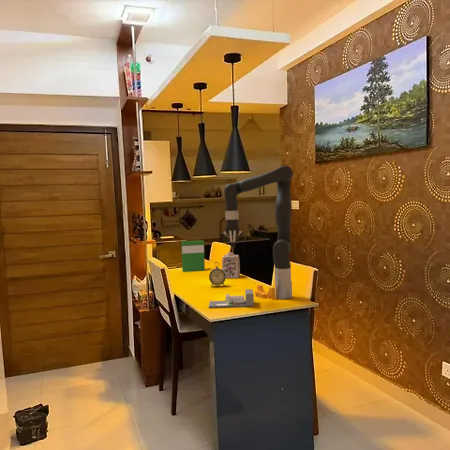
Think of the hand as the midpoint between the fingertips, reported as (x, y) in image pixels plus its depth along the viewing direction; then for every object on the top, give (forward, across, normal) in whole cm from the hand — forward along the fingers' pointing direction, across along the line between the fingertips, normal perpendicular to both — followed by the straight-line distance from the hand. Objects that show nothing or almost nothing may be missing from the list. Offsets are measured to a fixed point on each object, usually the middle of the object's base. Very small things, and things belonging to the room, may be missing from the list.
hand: (233, 248), depth 240 cm
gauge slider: (+28, 0, +16) cm, 32 cm away
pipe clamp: (+29, -18, +1) cm, 34 cm away
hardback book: (+29, +33, -97) cm, 107 cm away
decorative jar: (+29, +2, -65) cm, 71 cm away
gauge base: (+29, +2, +15) cm, 33 cm away
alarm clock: (+29, +11, -34) cm, 46 cm away
